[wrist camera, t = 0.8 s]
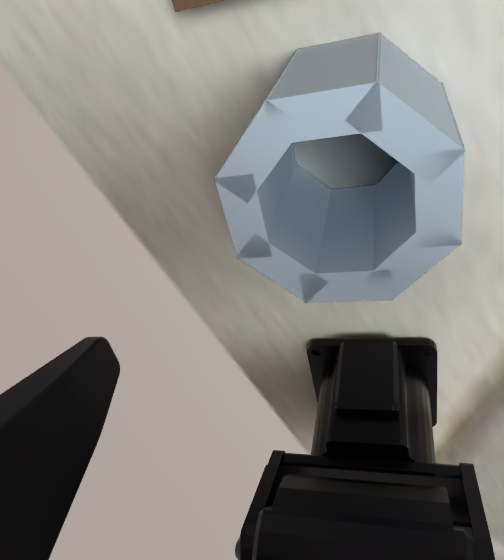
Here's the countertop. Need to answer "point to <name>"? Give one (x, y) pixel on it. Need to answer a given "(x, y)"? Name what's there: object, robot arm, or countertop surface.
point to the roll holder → (190, 4)
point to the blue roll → (356, 200)
